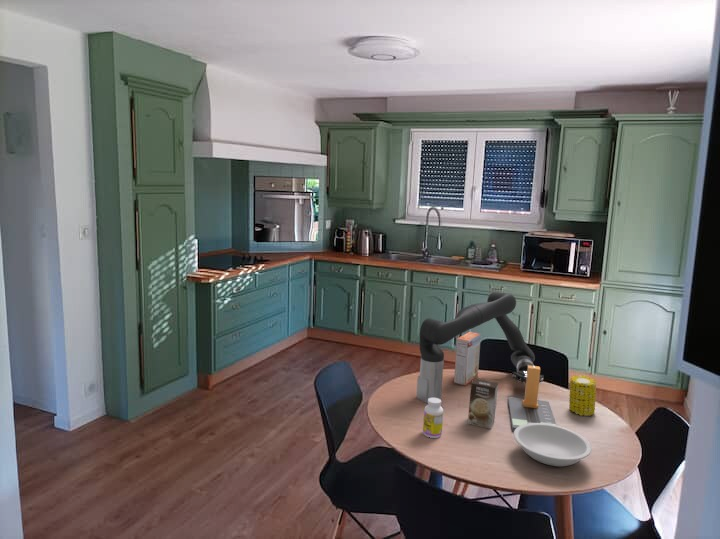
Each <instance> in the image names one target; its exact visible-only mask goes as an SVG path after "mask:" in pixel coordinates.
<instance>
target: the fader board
mask: <svg viewBox="0 0 720 539" xmlns="http://www.w3.org/2000/svg"><path fill="white" fill-rule="evenodd" d="M524 398H525V397H524ZM524 398H523V397H514V396H508V397H507V405H508V409H509V410H508V412H509V418H510V424H511V431H512V433H514V431H515V429H516V428H517V427H519V426H521V425H523V424H528V423H546V424H553V425H557V422H556V419H555V416H554V414H553V410H552V406H551V404H550V401H547V400H538V399H537V403H538V408H531V407H523V403H522V400H524Z"/></svg>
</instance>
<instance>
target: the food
mask: <svg viewBox="0 0 720 539" xmlns="http://www.w3.org/2000/svg"><path fill="white" fill-rule="evenodd" d="M569 383H570V384H569V394H568V395H569V398H568V399H569V410H570V411H571V412H572V413H575V414H576V415H579V416H582V417H583V416H584V417H587V416H592V415H594V414H595V410H596V399H597V398H596V397H597V395H596V393H597V392H596V391H597V388H596V387H597V383H596V380H595V379H593V378H591V377H590V376H586V375H584V374H583V375H580V374H579V375H574V376H571V377H570V381H569Z"/></svg>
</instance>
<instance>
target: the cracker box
mask: <svg viewBox="0 0 720 539" xmlns="http://www.w3.org/2000/svg"><path fill="white" fill-rule="evenodd" d="M481 338H482V337H481V333H478V332H474V331H469V332H468V331H467V333H464V334H463V335H461V336H459V337H458V338H456V345H455V346H456V348H455V363H454V364H455V365H454V380H453V383H454V384H458V385H460V386H461V385H462V386H467V385H469V384H470V383H472V382H473V380H474V378H479V377H478V376H479V366H480V365H479V364H480V350H481Z"/></svg>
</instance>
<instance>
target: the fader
mask: <svg viewBox="0 0 720 539" xmlns="http://www.w3.org/2000/svg"><path fill="white" fill-rule="evenodd" d="M540 375H541V367H540V366H537V365H534V366H529V365H528V369H527V379H526V383H525V391H524V400H522V403H523V407H531V408H538V403H537V400H538V396H539V386H540V383H539V378H540Z"/></svg>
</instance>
